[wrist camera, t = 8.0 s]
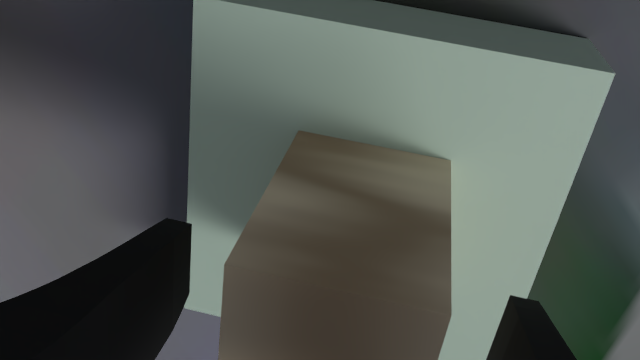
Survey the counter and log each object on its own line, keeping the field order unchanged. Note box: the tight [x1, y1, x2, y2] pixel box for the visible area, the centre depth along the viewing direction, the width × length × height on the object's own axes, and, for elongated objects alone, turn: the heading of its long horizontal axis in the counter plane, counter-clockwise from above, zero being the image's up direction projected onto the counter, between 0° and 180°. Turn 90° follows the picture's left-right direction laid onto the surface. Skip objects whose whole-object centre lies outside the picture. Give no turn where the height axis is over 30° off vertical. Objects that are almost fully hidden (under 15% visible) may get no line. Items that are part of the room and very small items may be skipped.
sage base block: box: [184, 0, 615, 360], centre depth 18 cm, size 10×10×3 cm
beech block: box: [218, 130, 452, 360], centre depth 14 cm, size 4×4×6 cm
